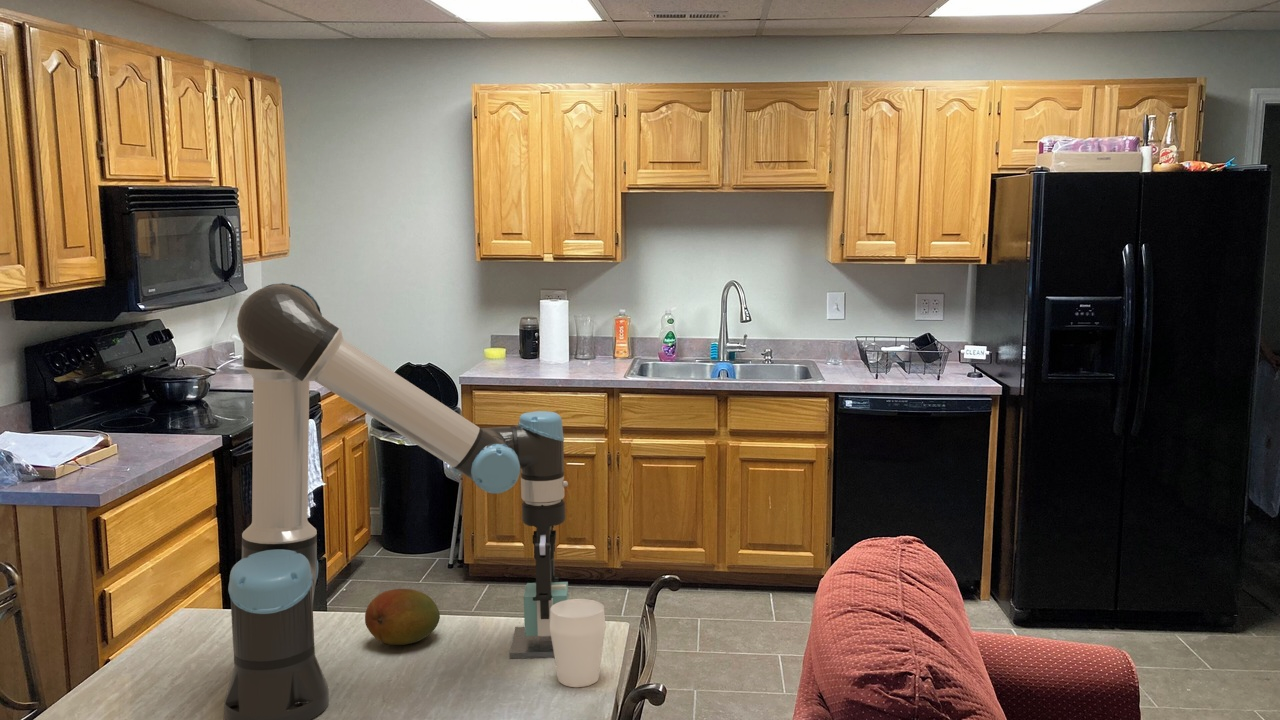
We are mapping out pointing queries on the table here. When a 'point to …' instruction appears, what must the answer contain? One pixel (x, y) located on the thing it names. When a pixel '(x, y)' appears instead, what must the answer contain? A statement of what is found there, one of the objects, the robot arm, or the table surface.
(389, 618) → the fruit
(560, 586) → the teal block
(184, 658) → the table surface
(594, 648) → the cup
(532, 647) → the shaft fixture
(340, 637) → the table surface
